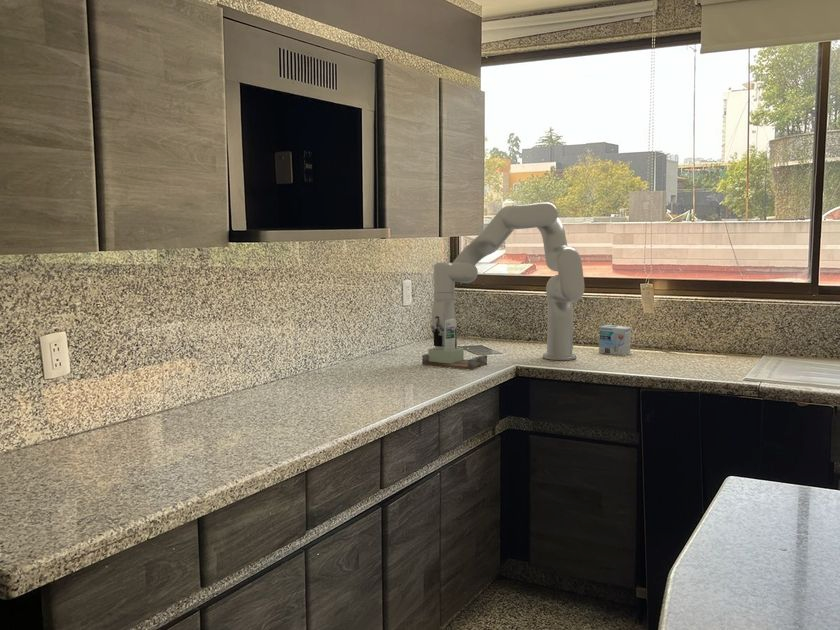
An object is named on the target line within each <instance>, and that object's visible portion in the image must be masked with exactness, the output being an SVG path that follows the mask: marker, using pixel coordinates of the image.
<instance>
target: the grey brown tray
mask: <svg viewBox="0 0 840 630" xmlns="http://www.w3.org/2000/svg"><path fill="white" fill-rule="evenodd" d="M421 356H422V357H421V358H422V359H421V361H422V362H421V364H423V365H422V366H430V365H432V366H431V367H439V366H441V367H442V368H448V367H451V369H457V368H459V370H460V369H461V370H466V369H469V371H474V370H475V369H479V368H481V366H482V367H484V365H485V366H487V365H488V355H487V354H481V355H479V356H475V357H472V358H469V359H464V360H461V361H458V362H455V363H452V364H449V363H439V362H430V361H428V353H426V354H422V355H421ZM441 367H440V368H441ZM478 367H479V368H478ZM473 369H474V370H473Z"/></svg>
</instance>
